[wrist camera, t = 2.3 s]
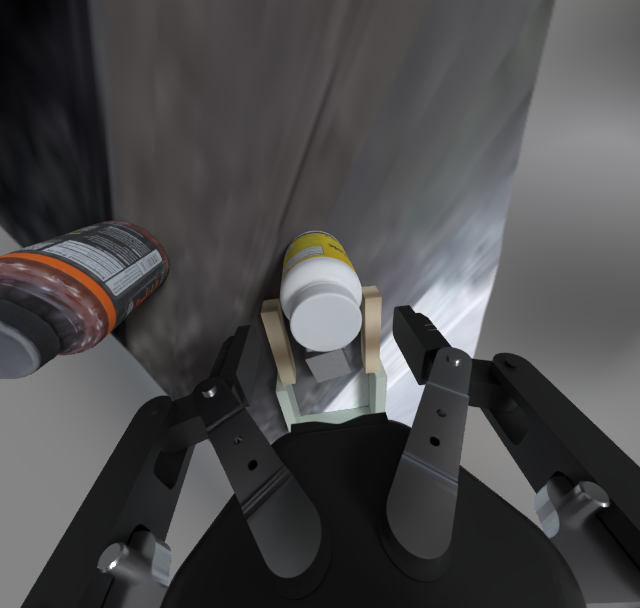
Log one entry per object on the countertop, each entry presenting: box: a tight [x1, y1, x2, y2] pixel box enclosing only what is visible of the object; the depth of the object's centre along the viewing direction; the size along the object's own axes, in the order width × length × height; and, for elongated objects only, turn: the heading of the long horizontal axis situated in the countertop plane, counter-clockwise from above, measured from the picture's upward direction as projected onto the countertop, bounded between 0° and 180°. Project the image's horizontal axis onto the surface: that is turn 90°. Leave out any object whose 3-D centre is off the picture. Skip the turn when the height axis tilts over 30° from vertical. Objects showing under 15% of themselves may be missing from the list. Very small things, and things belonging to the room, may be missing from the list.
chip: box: [305, 347, 352, 383], centre depth 26 cm, size 4×4×2 cm
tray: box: [276, 357, 387, 432], centre depth 30 cm, size 11×12×3 cm
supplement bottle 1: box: [0, 221, 169, 379], centre depth 15 cm, size 6×6×11 cm
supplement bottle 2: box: [280, 231, 362, 352], centre depth 17 cm, size 5×5×10 cm
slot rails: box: [261, 285, 382, 385], centre depth 25 cm, size 10×11×2 cm
